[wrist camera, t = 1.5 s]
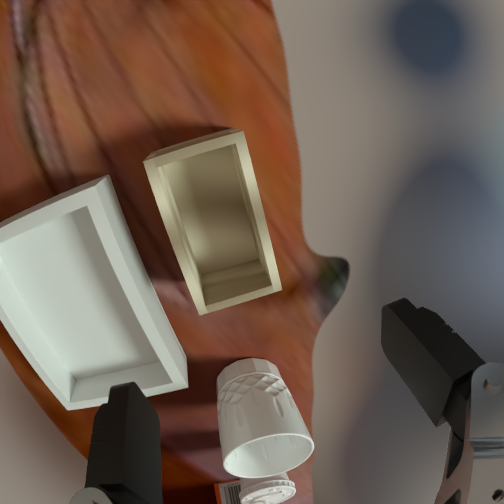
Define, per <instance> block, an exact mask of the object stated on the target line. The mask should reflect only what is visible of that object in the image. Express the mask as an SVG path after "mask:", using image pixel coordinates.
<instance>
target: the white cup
mask: <svg viewBox="0 0 504 504" xmlns="http://www.w3.org/2000/svg"><path fill="white" fill-rule="evenodd" d="M216 391H217V411H218V423H219V425H218V426H219V435H220V443H221V452H222V460H223V467H224V469H225V470H226V471H227V472H229V473H230V474H232V475H235V476H238V477H243V478H263V477H269V476H274V475H278V474H281V473H284V472H286V471H289V470H291V469H293V468H295V467H297V466H298V465H300V464H301V463H303V462H304V461H305V460H306V459H307V458H308V457H309V456H310V455H311V454H312V452H313V449H314V443H313V440H312V438H311V436H310V434H309V432H308V430H307V428H306V426H305V423H304V421H303V419H302V417H301V415H300V413H299V410H298V408H297V406H296V404H295V402H294V400H293V398H292V396H291V394H290V392H289V390H288V388H287V386H286V385H285V384H284V382H283V380H282V378H281V376H280V374H279V371H278V369H277V367H276V366H275V365H274V364H272V363H271V362H269V361H267V360H266V359H258V358H248V359H243V360H238V361H236V362H234V363H232V364H230V365H228V366H227V367H225V368H224V369H223V370H222V372H221V373H220V374H219V375H218V377H217V384H216Z"/></svg>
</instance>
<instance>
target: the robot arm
mask: <svg viewBox="0 0 504 504" xmlns="http://www.w3.org/2000/svg"><path fill="white" fill-rule="evenodd" d="M381 344H382V348H383V351H384V353H385V355H386V357H387V358H388V360H389V361H390V363H391V364H392V365H393V366H394V368H395V369H396V371H397V372H398V373H399V375H400V376H401V378H402V379H403V381H404V382H405V383H406V385H407V386H408V387H409V389H410V390H411V392H412V393H413V395H414V396H415V397H416V399H417V400H418V402H419V403H420V405H421V406H422V407H423V409H424V410H425V412H426V413H427V415H428V416H429V418H430V419H431V420H432V422H433V423H434V425H435V426H436V427H438V426H440V425H441V424H443V423H445V422H446V421H447V422H448V423H449V425H450V426H451V428H450V432H449V440H448V448H447V455H446V461H445V467H444V473H443V479H442V483H441V486H440V489H439V491H438V493H437V496H436V499H435V502H434V504H504V365H501V364H498V363H485V362H484V361H483V360H482V359H481V358H480V357H479V356H478V355H477V353H476V352H475V351H474V350H473V349H472V348H471V347H470V346H469V345H468V344H467V343H466V342H465V341H464V340H463V339H462V338H461V337H460V336H459V335H458V334H457V333H454V330H453V329H452V328H451V327H450V326H449V325H447V324H446V322H445V321H444V320H443V319H442V318H441V317H440V316H439V315H438V314H437V313H435V312H433V311H431V310H428V309H426V308H424V307H421V308H418V309H417V308H416V307H415V306H414V305H413V304H412V303H411V302H410V301H409V300H408V299H406V298H402V299H399V300H397V301H394V302H392V303H390V304H387V305H385V306H383V308H382V328H381ZM92 431H93V433H92V436H91V444H90V450H89V457H88V466H87V475H86V483H85V488H84V489H81V490H80V491H78V492H77V493H76V494H75V495H74V496H73V497H72V499H71V501H70V504H163V499H162V480H161V448H160V421H159V418H158V415H157V412H156V410H155V409H154V407H153V406H152V405H151V403H150V402H149V400H148V399H147V398H146V396H145V395H144V394H143V392H142V391H141V389H140V388H139V386H138V385H137V384H136V383H135V382H128V383H123V384H118V385H113V386H111V388H110V391H109V397H108V403H104V404H102V405H101V406H100V408H99V410H98V412H97V413H96V415H95V417H94V423H93V430H92Z"/></svg>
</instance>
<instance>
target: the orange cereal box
mask: <svg viewBox="0 0 504 504" xmlns="http://www.w3.org/2000/svg"><path fill="white" fill-rule="evenodd" d="M214 488H215V494H216V500H217V504H241V502H240V498H239V493H240V492H241V485H240V479H237V480H232V481H227V482H221V483H216V484H214Z"/></svg>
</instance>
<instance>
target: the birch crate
mask: <svg viewBox="0 0 504 504" xmlns="http://www.w3.org/2000/svg"><path fill="white" fill-rule="evenodd" d="M143 163H144V166H145V170H146V173H147V176H148V179H149V182H150V185H151V188H152V191H153V193H154V196H155V199H156V202H157V205H158V208H159V211H160V214H161V216H162V219H163V222H164V225H165V228H166V230H167V233H168V236H169V239H170V241H171V244H172V247H173V249H174V252H175V255H176V257H177V260H178V262H179V265H180V268H181V270H182V273H183V275H184V278H185V280H186V283H187V285H188V288H189V290H190V293H191V295H192V298H193V300H194V303H195V305H196V308H197V310H198V313H199V315H203V314H206V313H210V312H213V311H216V310H219V309H223V308H226V307H229V306H233V305H236V304H239V303H242V302H245V301H249V300H252V299H255V298H258V297H261V296H264V295H267V294H270V293H274V292H277V291H280V290H282V287H281V282H280V278H279V274H278V270H277V265H276V261H275V257H274V253H273V249H272V244H271V240H270V236H269V232H268V228H267V224H266V220H265V215H264V211H263V207H262V203H261V199H260V195H259V191H258V187H257V183H256V179H255V175H254V171H253V167H252V163H251V159H250V155H249V151H248V147H247V143H246V139H245V136H244V132H243V131H242V130H238V129H234V128H230V129H226V130H222V131H219V132H215V133H212V134H208V135H205V136H201V137H198V138H195V139H191V140H188V141H185V142H182V143H179V144H175V145H172V146H169V147H166V148H163V149H160V150H157V151H154V152H151V153H150V155H149V156H148V157H147V158H146V159H145V160H144V161H143Z"/></svg>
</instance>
